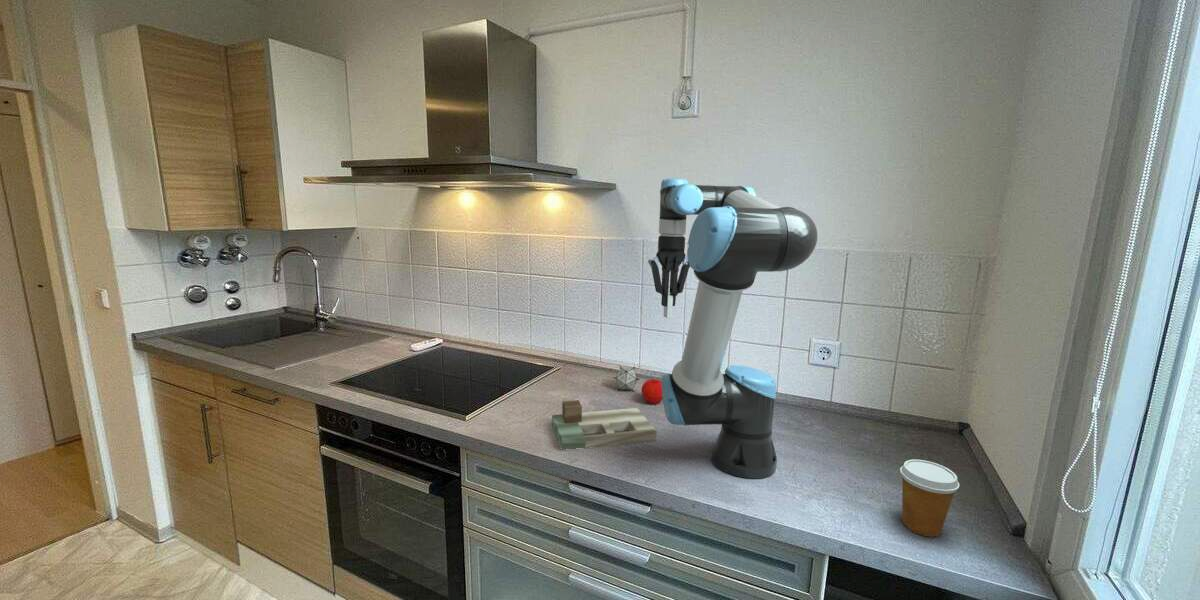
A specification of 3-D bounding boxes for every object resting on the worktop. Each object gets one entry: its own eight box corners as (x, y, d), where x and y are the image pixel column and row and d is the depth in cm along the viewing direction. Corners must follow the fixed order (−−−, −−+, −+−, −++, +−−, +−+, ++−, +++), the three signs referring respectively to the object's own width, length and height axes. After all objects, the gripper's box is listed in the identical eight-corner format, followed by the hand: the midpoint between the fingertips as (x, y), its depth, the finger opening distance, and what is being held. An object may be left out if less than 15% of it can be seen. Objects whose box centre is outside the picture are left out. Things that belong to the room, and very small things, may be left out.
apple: (637, 398, 158) (638, 376, 156) (660, 396, 159) (661, 375, 158) (644, 408, 150) (645, 385, 149) (669, 406, 152) (670, 383, 150)
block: (581, 422, 132) (581, 406, 131) (565, 423, 131) (565, 407, 130) (578, 415, 136) (578, 400, 135) (562, 416, 135) (562, 401, 134)
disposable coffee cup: (955, 549, 90) (966, 489, 87) (895, 533, 94) (904, 476, 91) (944, 520, 98) (954, 465, 96) (890, 507, 102) (898, 454, 100)
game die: (627, 402, 163) (627, 386, 156) (608, 388, 168) (607, 371, 160) (644, 385, 168) (645, 368, 160) (625, 371, 172) (625, 354, 164)
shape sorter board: (655, 441, 129) (656, 430, 128) (562, 450, 122) (562, 439, 122) (636, 417, 143) (637, 407, 142) (551, 425, 136) (552, 415, 136)
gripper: (687, 234, 143) (682, 313, 147) (645, 234, 139) (642, 315, 144) (699, 236, 136) (693, 319, 140) (655, 235, 132) (651, 320, 136)
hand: (667, 317), depth 142 cm, fingers closed
